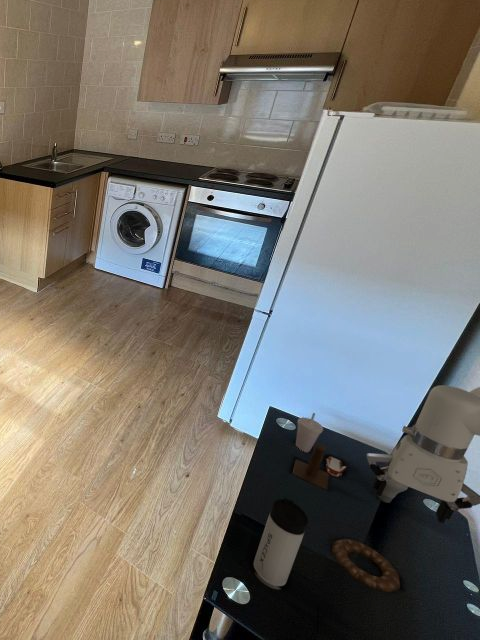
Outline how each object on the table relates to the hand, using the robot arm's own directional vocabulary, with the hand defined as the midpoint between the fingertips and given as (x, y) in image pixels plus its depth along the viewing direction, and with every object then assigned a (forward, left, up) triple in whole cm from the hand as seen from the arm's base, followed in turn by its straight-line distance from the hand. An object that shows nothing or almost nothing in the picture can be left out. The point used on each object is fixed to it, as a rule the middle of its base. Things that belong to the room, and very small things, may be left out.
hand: (407, 504), depth 90 cm
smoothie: (+18, -36, -20) cm, 45 cm away
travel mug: (+19, +21, -20) cm, 34 cm away
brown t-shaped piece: (+15, -23, -20) cm, 34 cm away
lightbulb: (-1, -27, -20) cm, 34 cm away
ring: (+3, +3, -19) cm, 19 cm away
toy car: (+10, -32, -20) cm, 39 cm away
